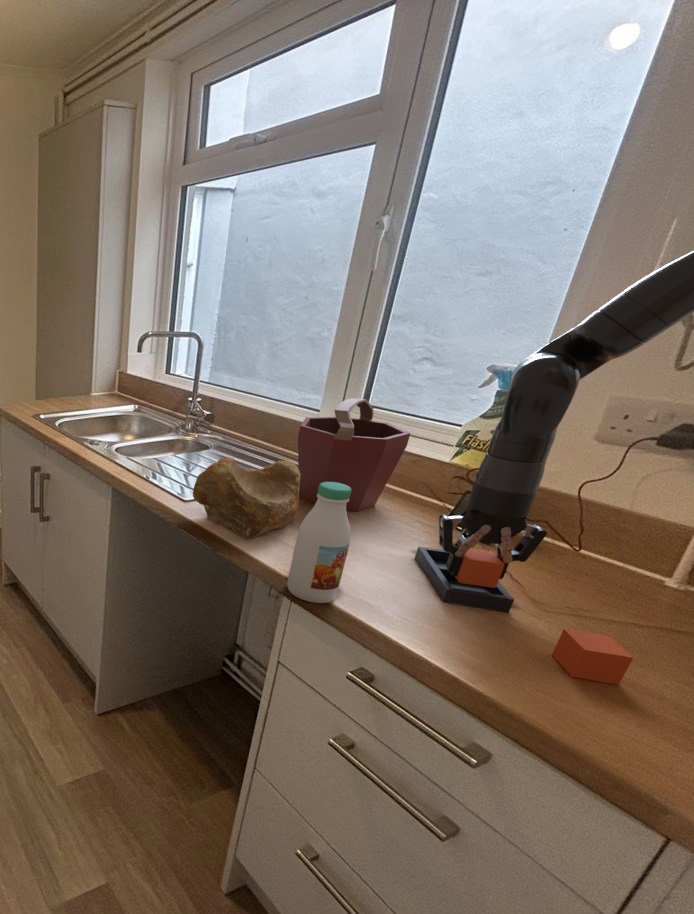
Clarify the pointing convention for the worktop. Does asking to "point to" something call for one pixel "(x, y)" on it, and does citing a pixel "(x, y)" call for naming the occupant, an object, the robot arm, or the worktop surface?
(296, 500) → the rough brown rock
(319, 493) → the milk bottle
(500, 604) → the frame
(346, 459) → the bucket
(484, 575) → the orange square block
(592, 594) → the worktop surface
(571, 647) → the orange block
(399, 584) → the worktop surface
